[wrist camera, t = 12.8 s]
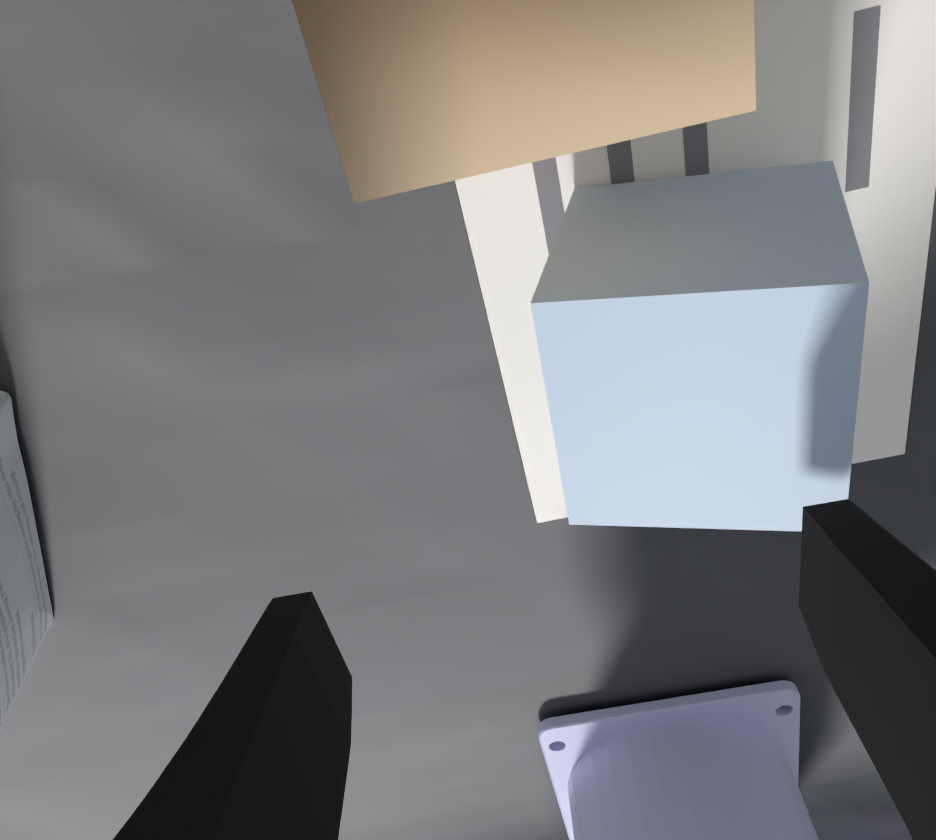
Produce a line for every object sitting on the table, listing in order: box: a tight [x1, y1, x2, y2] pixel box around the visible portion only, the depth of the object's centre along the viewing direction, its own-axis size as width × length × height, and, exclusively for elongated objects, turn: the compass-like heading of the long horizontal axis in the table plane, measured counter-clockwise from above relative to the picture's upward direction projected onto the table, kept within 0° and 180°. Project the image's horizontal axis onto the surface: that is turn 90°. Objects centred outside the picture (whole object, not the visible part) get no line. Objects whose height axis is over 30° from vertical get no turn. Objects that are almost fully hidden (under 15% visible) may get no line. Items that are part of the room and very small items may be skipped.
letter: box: [455, 0, 936, 523], centre depth 16 cm, size 12×9×1 cm
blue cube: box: [530, 161, 869, 531], centre depth 14 cm, size 4×4×4 cm
